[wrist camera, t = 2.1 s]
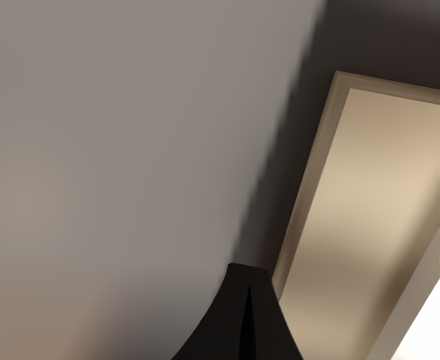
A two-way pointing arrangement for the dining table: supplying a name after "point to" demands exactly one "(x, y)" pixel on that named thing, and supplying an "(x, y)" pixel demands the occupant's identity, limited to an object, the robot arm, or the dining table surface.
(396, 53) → the dining table surface
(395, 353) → the card
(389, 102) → the board
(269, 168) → the dining table surface
